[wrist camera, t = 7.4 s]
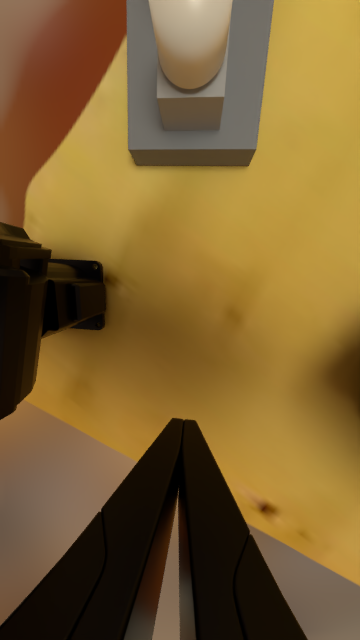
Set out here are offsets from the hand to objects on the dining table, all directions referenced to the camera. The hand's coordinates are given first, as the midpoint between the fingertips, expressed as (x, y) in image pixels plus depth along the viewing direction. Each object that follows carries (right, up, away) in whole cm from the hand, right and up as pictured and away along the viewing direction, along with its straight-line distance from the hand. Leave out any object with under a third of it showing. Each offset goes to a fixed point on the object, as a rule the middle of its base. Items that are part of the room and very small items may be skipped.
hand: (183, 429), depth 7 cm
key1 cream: (+1, +19, +6) cm, 20 cm away
